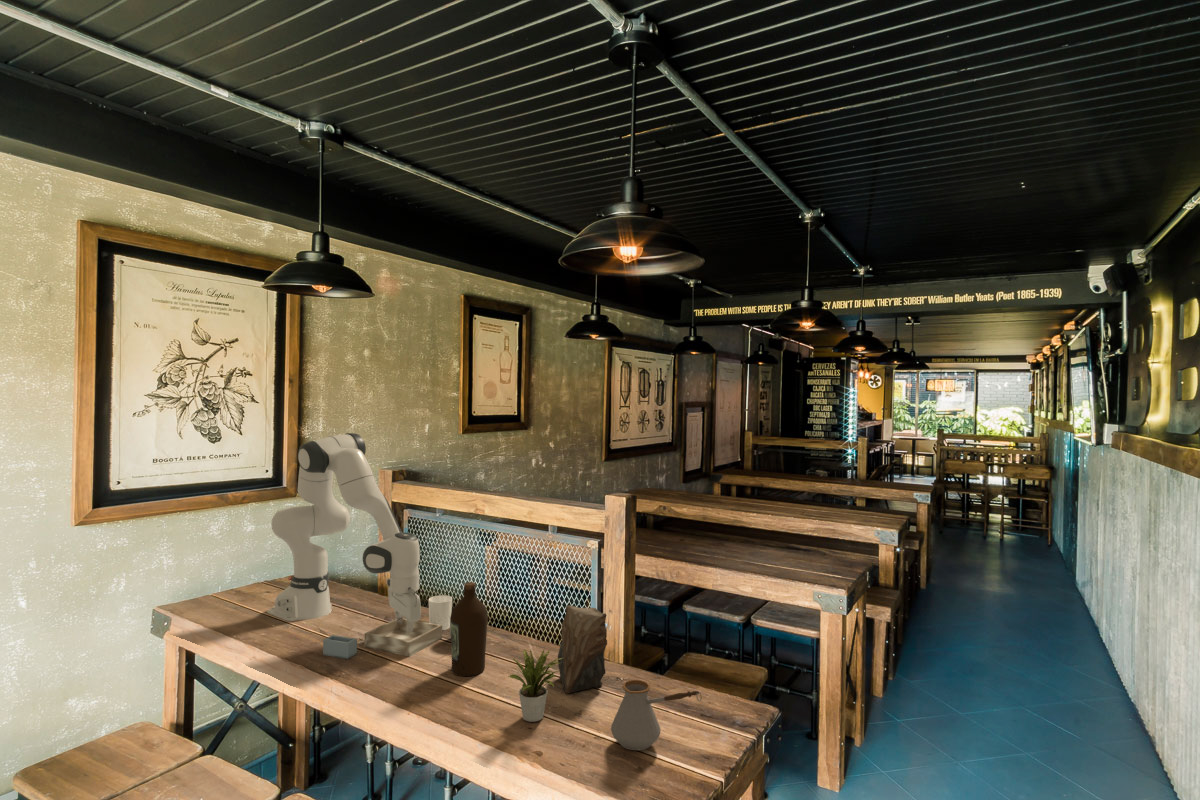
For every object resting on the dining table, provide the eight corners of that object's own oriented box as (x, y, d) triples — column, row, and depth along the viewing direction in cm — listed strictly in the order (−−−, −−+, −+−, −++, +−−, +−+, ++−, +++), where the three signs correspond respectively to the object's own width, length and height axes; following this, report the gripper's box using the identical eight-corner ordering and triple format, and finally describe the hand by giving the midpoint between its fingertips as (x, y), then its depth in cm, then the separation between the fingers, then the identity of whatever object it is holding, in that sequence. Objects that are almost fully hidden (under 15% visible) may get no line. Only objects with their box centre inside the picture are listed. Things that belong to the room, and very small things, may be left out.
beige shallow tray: (364, 647, 195) (364, 633, 195) (398, 630, 210) (399, 617, 210) (409, 657, 189) (409, 642, 189) (442, 639, 203) (442, 625, 204)
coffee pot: (601, 746, 141) (602, 680, 141) (624, 723, 151) (625, 662, 151) (690, 774, 131) (691, 703, 131) (708, 748, 141) (709, 681, 141)
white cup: (437, 633, 208) (438, 604, 208) (423, 628, 213) (423, 599, 213) (456, 627, 214) (457, 598, 214) (441, 622, 219) (442, 593, 219)
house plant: (553, 737, 145) (554, 667, 145) (497, 731, 147) (498, 661, 147) (567, 707, 159) (568, 643, 159) (515, 702, 161) (516, 639, 161)
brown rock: (556, 673, 179) (557, 604, 179) (598, 669, 182) (599, 601, 182) (564, 693, 166) (565, 619, 167) (610, 689, 170) (611, 615, 170)
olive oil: (481, 659, 188) (483, 576, 188) (491, 673, 178) (492, 586, 178) (446, 665, 183) (447, 580, 183) (453, 680, 174) (455, 590, 174)
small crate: (323, 656, 188) (323, 639, 188) (332, 651, 192) (332, 635, 192) (347, 660, 186) (348, 643, 186) (356, 655, 190) (357, 638, 190)
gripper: (426, 590, 193) (425, 635, 193) (403, 575, 210) (403, 616, 209) (406, 594, 189) (405, 639, 189) (385, 578, 206) (384, 620, 206)
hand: (404, 627), depth 199 cm, fingers open, 8 cm apart
